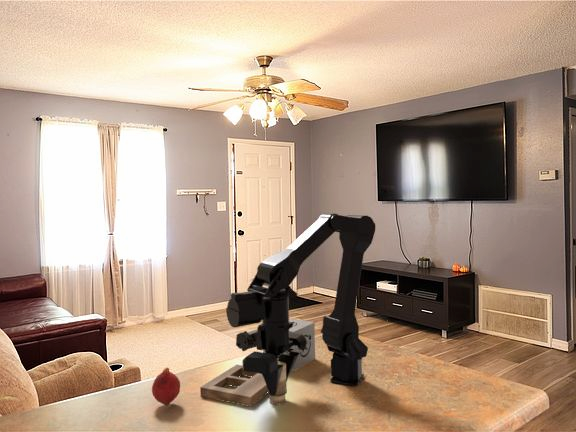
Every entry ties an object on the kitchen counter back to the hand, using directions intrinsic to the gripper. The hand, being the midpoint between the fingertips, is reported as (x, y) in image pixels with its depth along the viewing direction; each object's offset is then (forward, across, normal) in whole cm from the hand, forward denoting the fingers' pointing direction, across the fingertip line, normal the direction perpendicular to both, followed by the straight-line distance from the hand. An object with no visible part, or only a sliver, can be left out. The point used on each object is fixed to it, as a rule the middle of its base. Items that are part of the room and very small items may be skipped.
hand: (277, 390), depth 99 cm
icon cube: (+2, -23, -8) cm, 24 cm away
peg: (+2, 0, 0) cm, 2 cm away
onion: (+2, +11, -21) cm, 24 cm away
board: (+2, -3, -10) cm, 11 cm away
